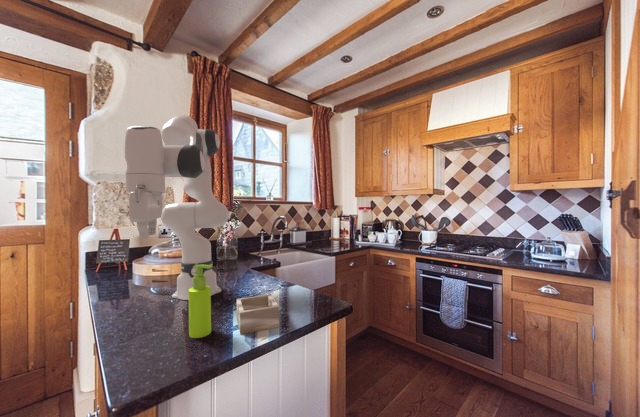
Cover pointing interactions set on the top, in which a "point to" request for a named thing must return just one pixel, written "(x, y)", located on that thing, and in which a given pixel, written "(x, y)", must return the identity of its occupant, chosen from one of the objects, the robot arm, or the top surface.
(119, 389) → the top surface
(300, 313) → the top surface
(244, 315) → the box
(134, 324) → the top surface
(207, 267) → the soap dispenser
